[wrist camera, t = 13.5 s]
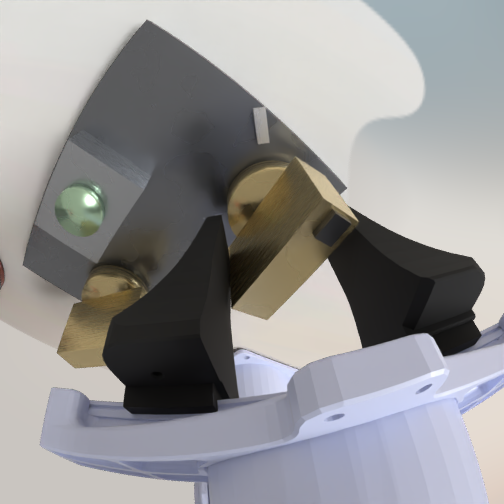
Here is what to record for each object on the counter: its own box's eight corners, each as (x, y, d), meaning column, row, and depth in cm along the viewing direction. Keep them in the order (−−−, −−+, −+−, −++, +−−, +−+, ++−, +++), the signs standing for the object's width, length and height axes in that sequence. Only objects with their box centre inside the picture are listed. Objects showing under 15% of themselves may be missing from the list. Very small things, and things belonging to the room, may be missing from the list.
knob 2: (273, 254, 15) (291, 333, 11) (205, 224, 14) (202, 304, 10) (335, 178, 13) (384, 242, 9) (265, 132, 11) (293, 182, 7)
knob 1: (103, 317, 17) (86, 382, 13) (69, 276, 15) (40, 344, 11) (168, 303, 17) (160, 376, 13) (136, 254, 14) (114, 332, 10)
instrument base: (340, 179, 14) (363, 208, 12) (169, 332, 21) (166, 366, 18) (152, 22, 8) (133, 12, 6) (28, 255, 15) (10, 286, 13)
